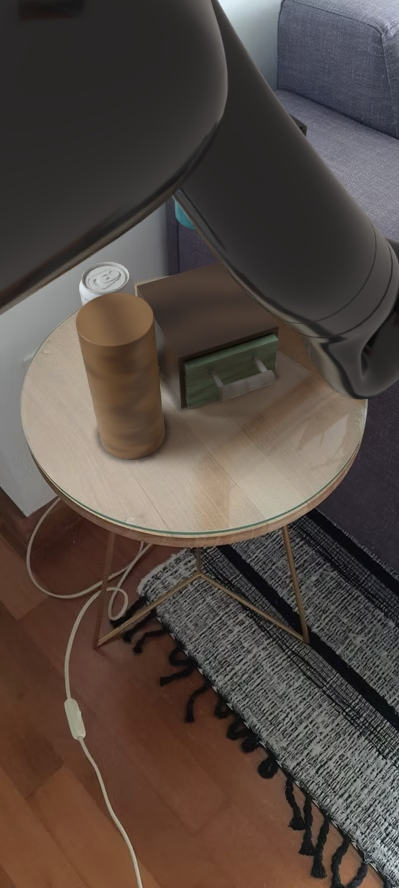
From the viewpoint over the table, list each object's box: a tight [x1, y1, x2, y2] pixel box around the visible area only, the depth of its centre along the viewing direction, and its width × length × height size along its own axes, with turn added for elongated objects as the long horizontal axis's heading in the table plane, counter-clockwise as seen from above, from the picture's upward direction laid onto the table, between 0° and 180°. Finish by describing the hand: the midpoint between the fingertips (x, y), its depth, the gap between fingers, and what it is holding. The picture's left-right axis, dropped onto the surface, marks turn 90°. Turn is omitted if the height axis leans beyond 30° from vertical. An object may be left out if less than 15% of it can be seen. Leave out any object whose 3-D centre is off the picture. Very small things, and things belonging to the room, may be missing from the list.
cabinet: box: [135, 261, 280, 409], centre depth 85 cm, size 14×13×9 cm
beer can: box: [78, 261, 137, 307], centre depth 81 cm, size 6×6×15 cm
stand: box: [75, 293, 166, 460], centre depth 74 cm, size 8×8×18 cm
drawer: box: [184, 334, 279, 409], centre depth 83 cm, size 17×11×7 cm
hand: (192, 107), depth 65 cm, fingers closed on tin, 6 cm apart
